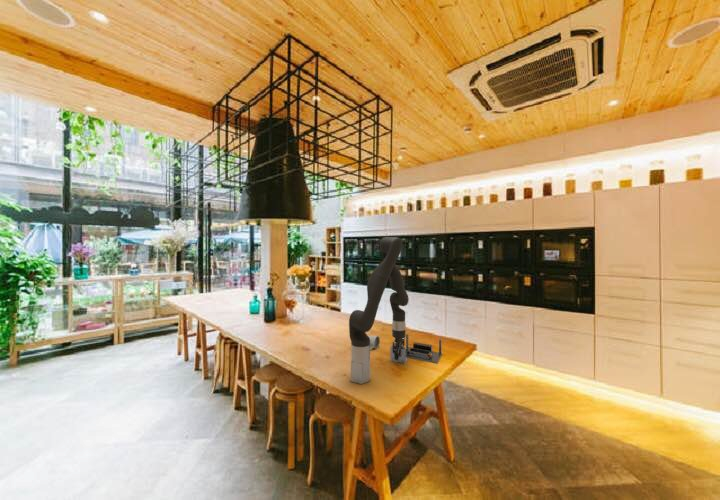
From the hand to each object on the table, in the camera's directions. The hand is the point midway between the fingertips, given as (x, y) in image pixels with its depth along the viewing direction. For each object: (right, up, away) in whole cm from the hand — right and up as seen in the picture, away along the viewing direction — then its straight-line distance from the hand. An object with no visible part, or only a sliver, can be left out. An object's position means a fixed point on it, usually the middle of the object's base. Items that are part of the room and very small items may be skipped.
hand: (398, 357), depth 151 cm
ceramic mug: (-15, -2, +20) cm, 25 cm away
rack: (+14, -2, +8) cm, 17 cm away
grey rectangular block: (0, -2, 0) cm, 2 cm away
